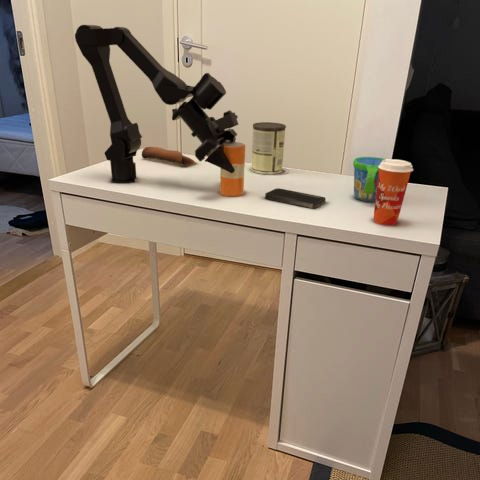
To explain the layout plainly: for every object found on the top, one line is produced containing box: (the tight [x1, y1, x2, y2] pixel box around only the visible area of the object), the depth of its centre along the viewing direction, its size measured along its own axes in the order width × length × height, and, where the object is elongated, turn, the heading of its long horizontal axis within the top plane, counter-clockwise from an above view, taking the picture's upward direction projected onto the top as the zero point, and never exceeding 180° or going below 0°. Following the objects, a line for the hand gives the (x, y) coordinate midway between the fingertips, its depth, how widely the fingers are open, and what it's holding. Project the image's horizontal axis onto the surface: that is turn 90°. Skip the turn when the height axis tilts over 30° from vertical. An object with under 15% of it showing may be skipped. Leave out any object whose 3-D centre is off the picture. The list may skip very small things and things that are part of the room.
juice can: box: [219, 141, 246, 197], centre depth 131 cm, size 6×6×13 cm
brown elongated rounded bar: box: [141, 146, 197, 168], centre depth 164 cm, size 18×7×7 cm, turn 57°
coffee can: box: [250, 121, 287, 175], centre depth 155 cm, size 10×10×14 cm
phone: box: [264, 187, 326, 209], centre depth 130 cm, size 8×1×15 cm
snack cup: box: [352, 156, 387, 203], centre depth 132 cm, size 16×10×10 cm
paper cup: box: [372, 158, 414, 226], centre depth 114 cm, size 8×8×14 cm
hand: (237, 169), depth 131 cm, fingers closed on juice can, 6 cm apart
